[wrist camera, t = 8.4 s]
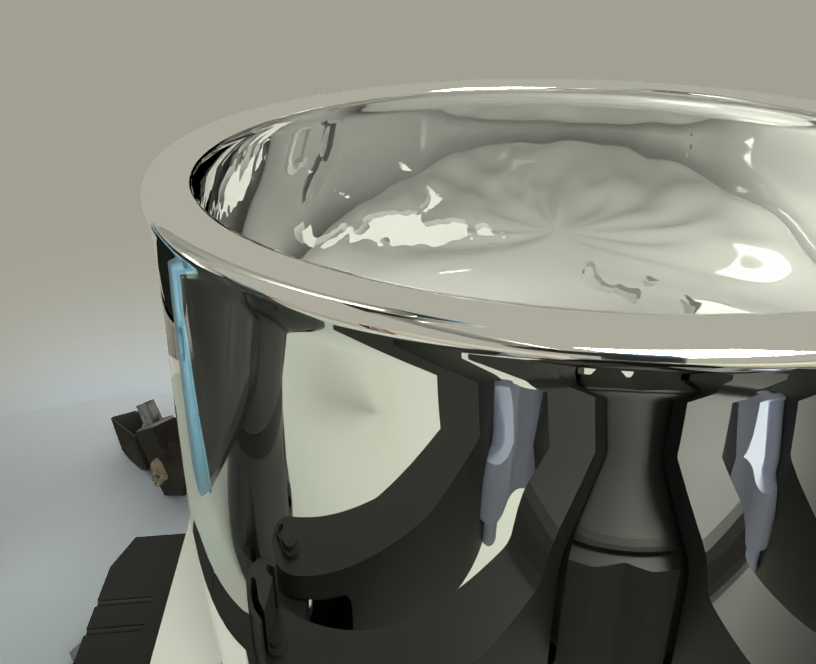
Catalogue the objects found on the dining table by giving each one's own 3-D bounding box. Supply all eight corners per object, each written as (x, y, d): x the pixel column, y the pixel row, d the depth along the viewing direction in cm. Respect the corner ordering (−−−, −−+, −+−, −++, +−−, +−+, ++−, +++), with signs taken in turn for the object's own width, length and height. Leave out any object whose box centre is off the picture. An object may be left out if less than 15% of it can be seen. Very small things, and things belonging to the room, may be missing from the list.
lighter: (133, 499, 43) (96, 422, 42) (165, 482, 44) (129, 408, 44) (172, 502, 36) (128, 410, 35) (208, 482, 37) (166, 393, 37)
